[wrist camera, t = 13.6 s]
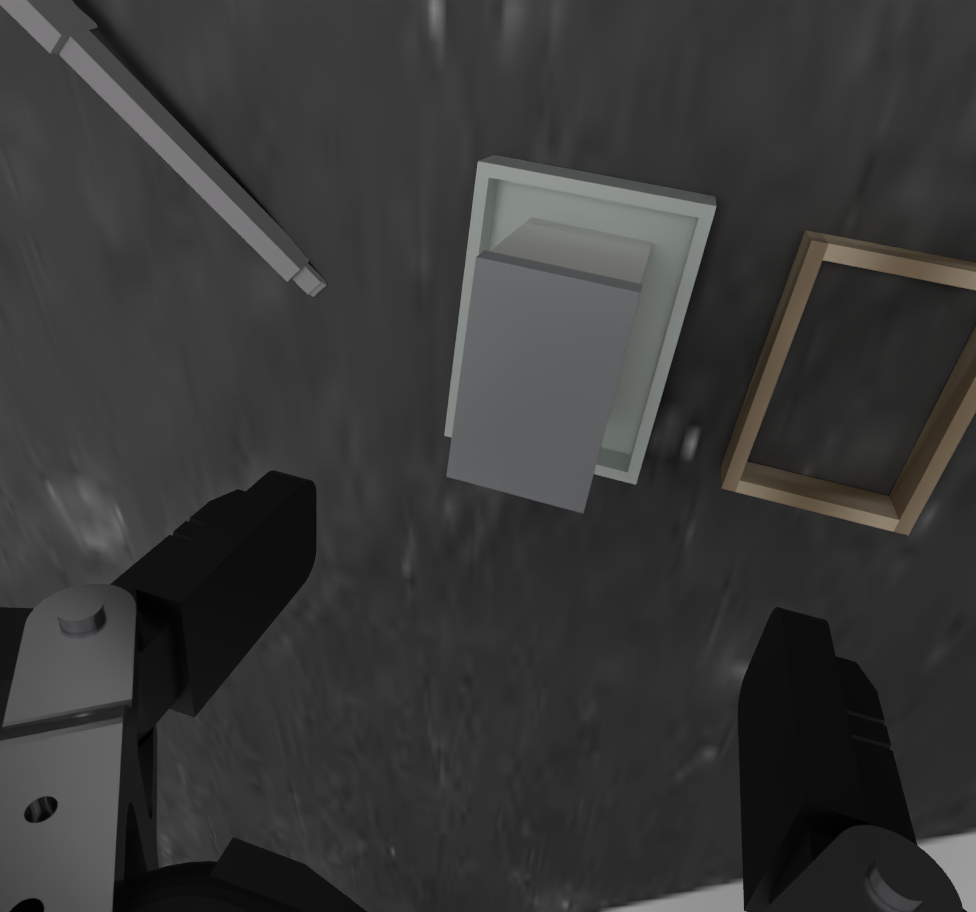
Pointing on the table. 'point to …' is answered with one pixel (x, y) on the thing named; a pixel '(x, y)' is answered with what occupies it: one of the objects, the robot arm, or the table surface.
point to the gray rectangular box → (544, 359)
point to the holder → (962, 396)
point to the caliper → (161, 131)
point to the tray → (666, 283)
